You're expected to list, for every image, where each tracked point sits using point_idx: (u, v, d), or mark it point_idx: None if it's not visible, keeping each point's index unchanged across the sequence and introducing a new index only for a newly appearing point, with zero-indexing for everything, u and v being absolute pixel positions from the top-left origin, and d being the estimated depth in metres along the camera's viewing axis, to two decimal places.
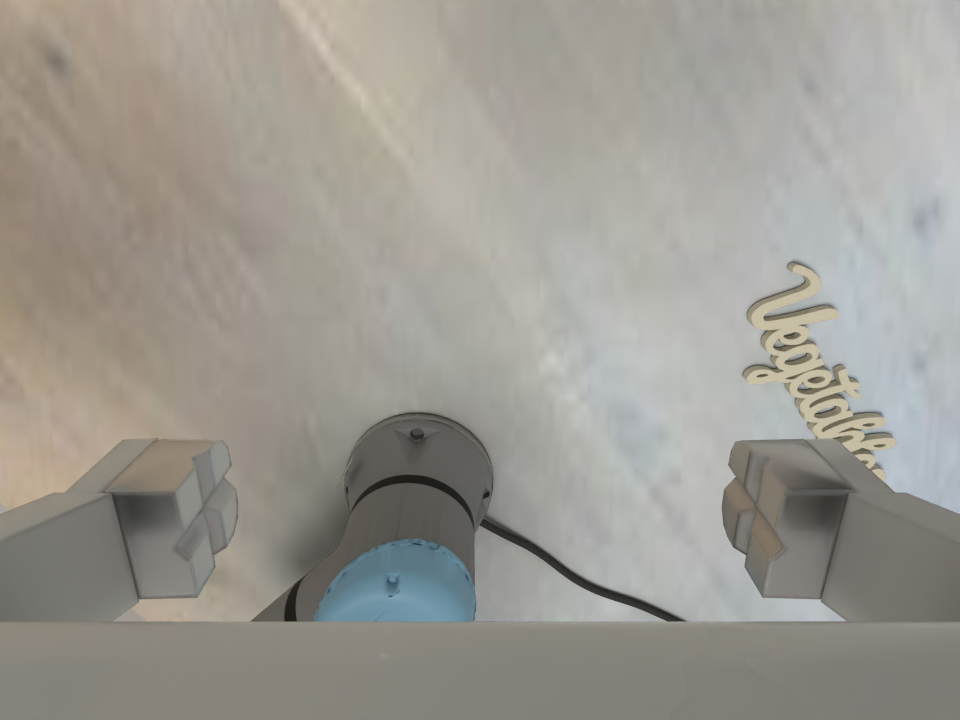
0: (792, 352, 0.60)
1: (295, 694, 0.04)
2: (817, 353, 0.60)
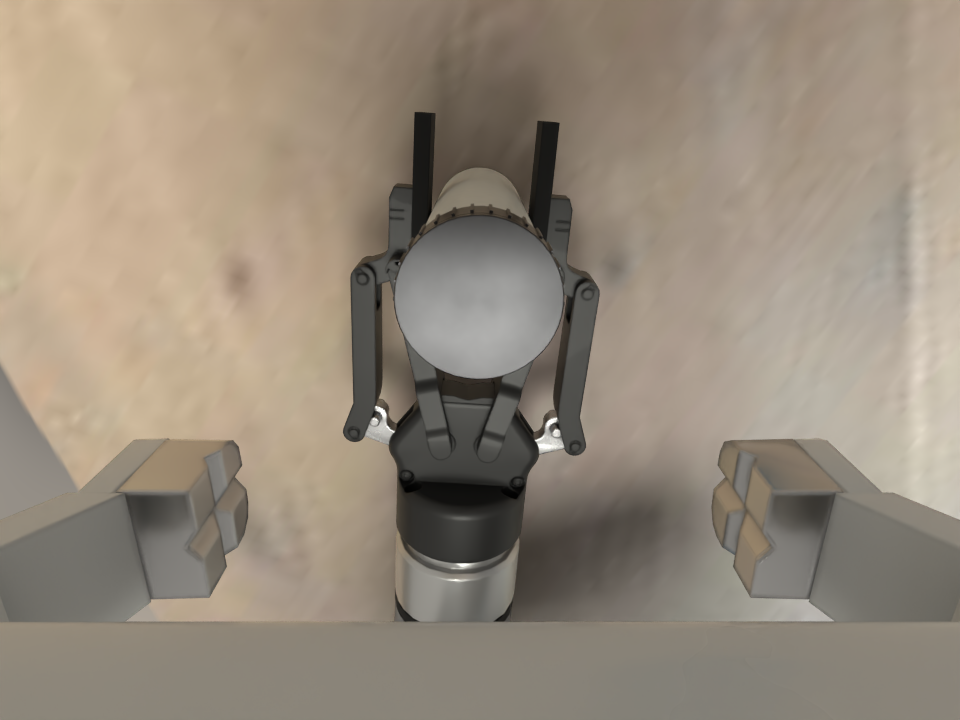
0: None
1: (295, 694, 0.04)
2: None
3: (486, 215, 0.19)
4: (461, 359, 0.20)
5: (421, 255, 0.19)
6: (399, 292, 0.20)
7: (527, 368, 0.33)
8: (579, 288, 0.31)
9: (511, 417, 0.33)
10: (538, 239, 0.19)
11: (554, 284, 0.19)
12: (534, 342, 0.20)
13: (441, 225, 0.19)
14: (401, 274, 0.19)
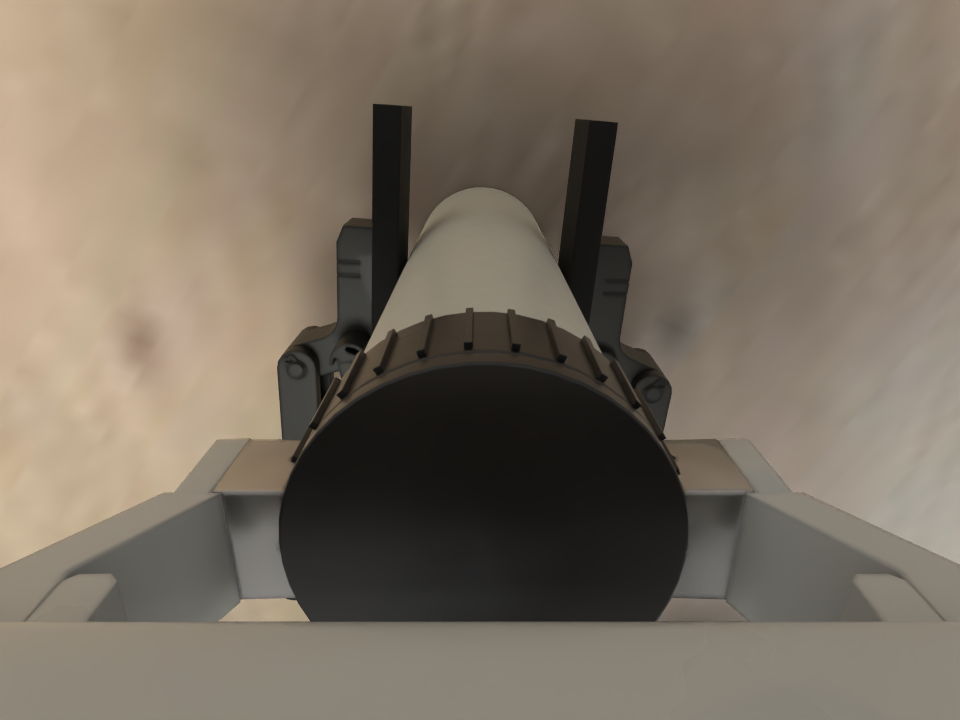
0: None
1: (295, 694, 0.04)
2: None
3: (505, 363, 0.07)
4: None
5: (341, 453, 0.08)
6: (291, 532, 0.08)
7: None
8: (640, 384, 0.20)
9: None
10: (635, 420, 0.07)
11: (667, 518, 0.08)
12: None
13: (389, 386, 0.07)
14: (293, 495, 0.08)
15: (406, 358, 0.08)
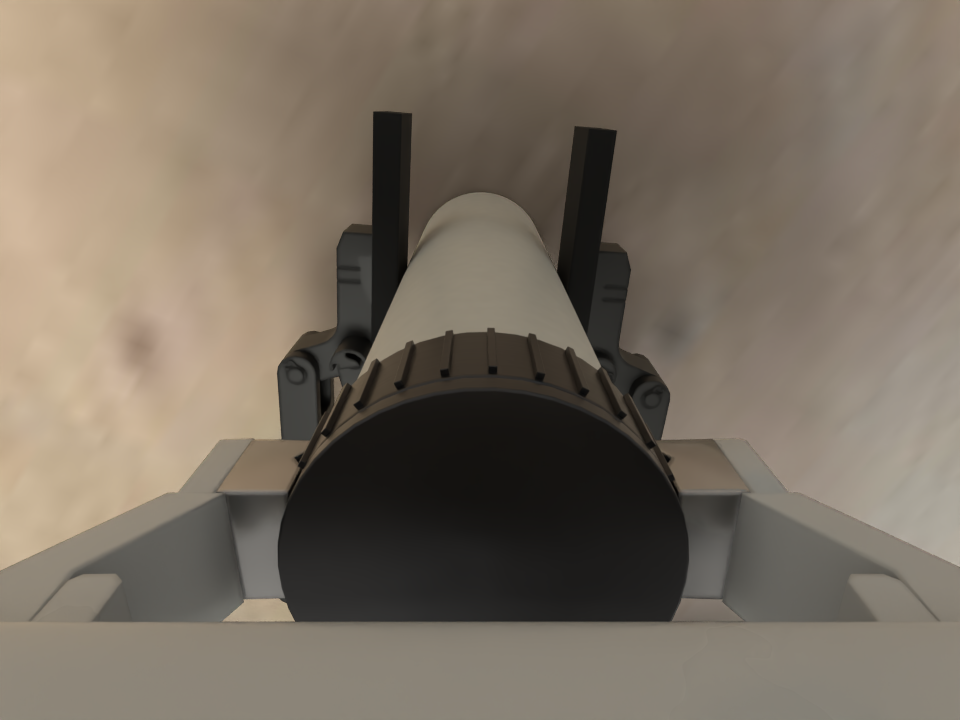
0: None
1: (295, 694, 0.04)
2: None
3: (292, 493, 0.08)
4: None
5: None
6: None
7: None
8: (639, 390, 0.20)
9: None
10: (388, 409, 0.07)
11: (517, 411, 0.07)
12: (641, 502, 0.08)
13: (284, 582, 0.08)
14: None
15: None
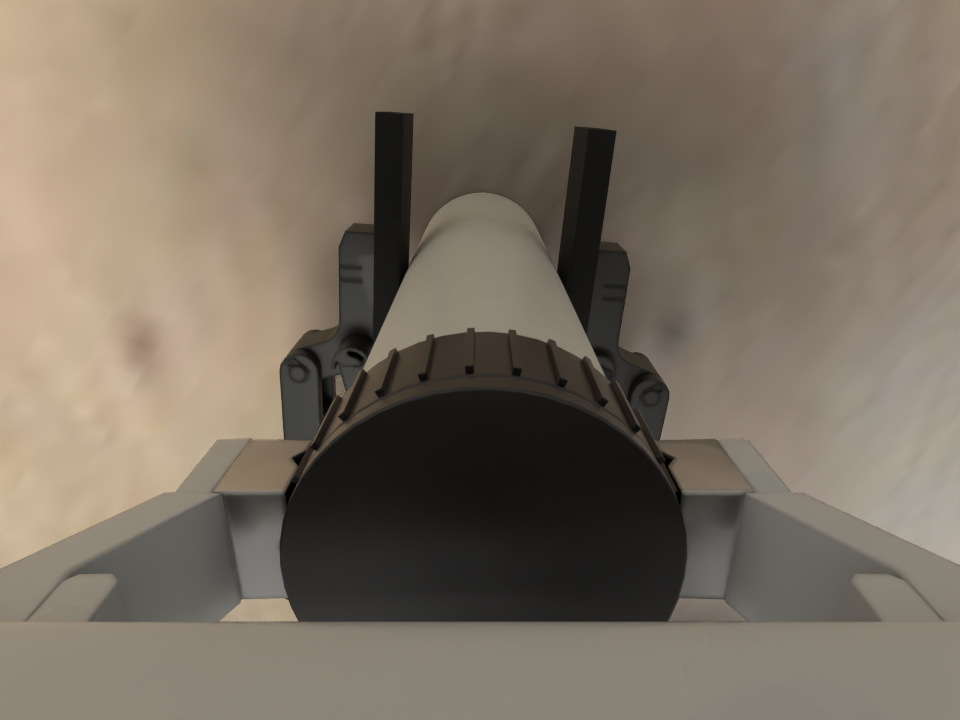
0: None
1: (295, 694, 0.04)
2: None
3: None
4: (624, 509, 0.08)
5: None
6: None
7: None
8: (638, 388, 0.20)
9: None
10: (284, 579, 0.08)
11: (318, 491, 0.08)
12: (456, 421, 0.07)
13: None
14: None
15: None
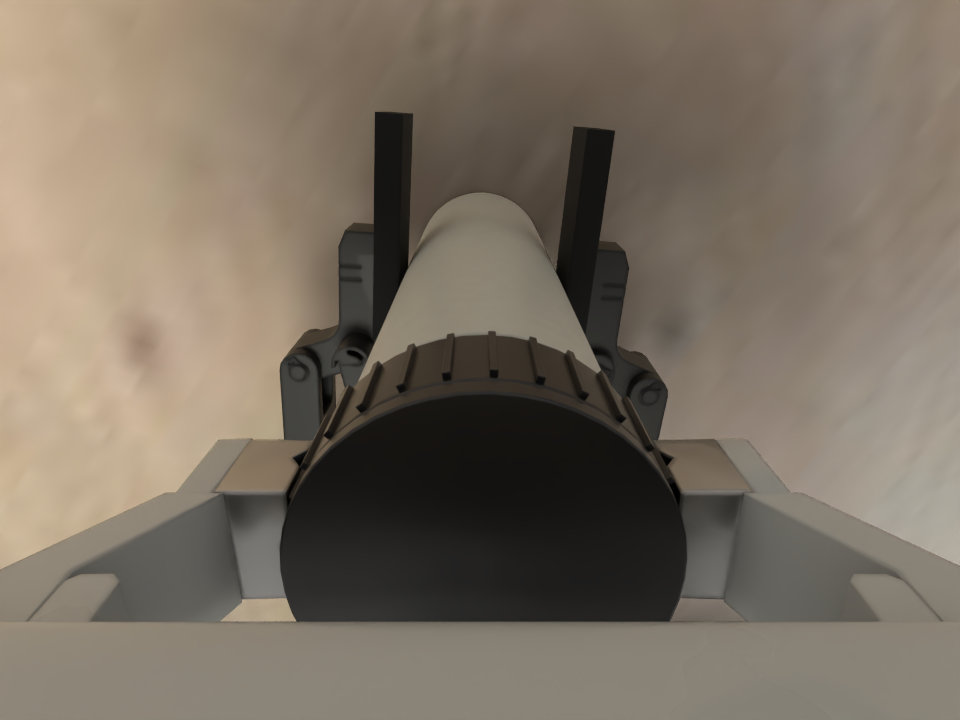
0: None
1: (295, 694, 0.04)
2: None
3: None
4: (461, 442, 0.07)
5: (644, 611, 0.09)
6: (670, 529, 0.08)
7: None
8: (636, 387, 0.20)
9: None
10: None
11: None
12: (313, 543, 0.08)
13: None
14: (678, 567, 0.08)
15: None
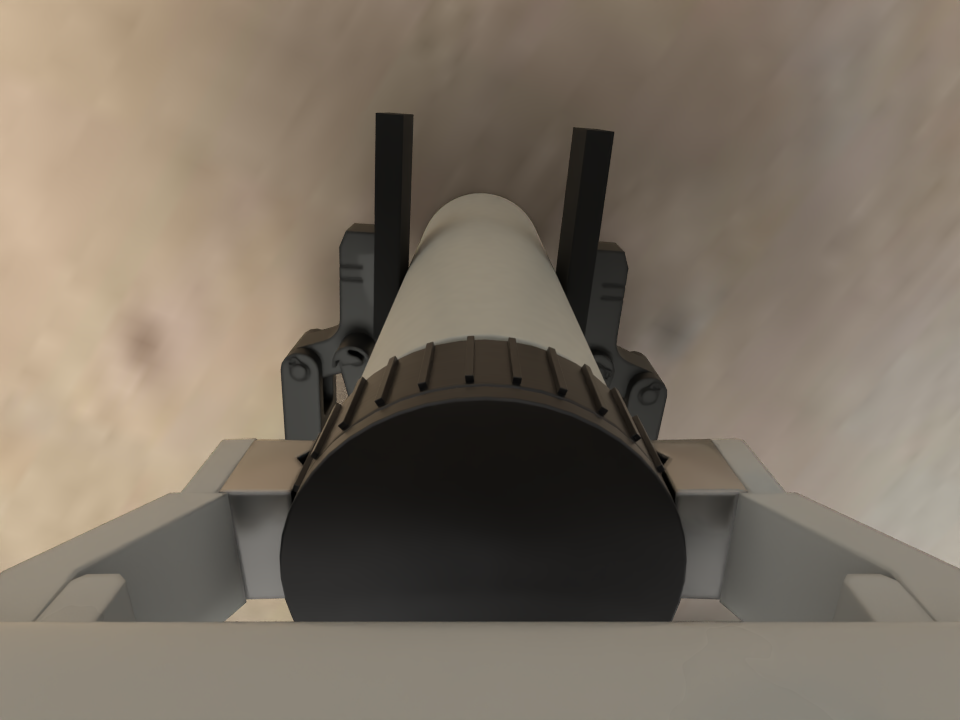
0: None
1: (295, 694, 0.04)
2: None
3: (681, 585, 0.08)
4: (329, 551, 0.08)
5: (597, 461, 0.08)
6: (500, 412, 0.07)
7: None
8: (636, 387, 0.20)
9: None
10: None
11: None
12: None
13: (668, 502, 0.08)
14: (550, 418, 0.07)
15: None
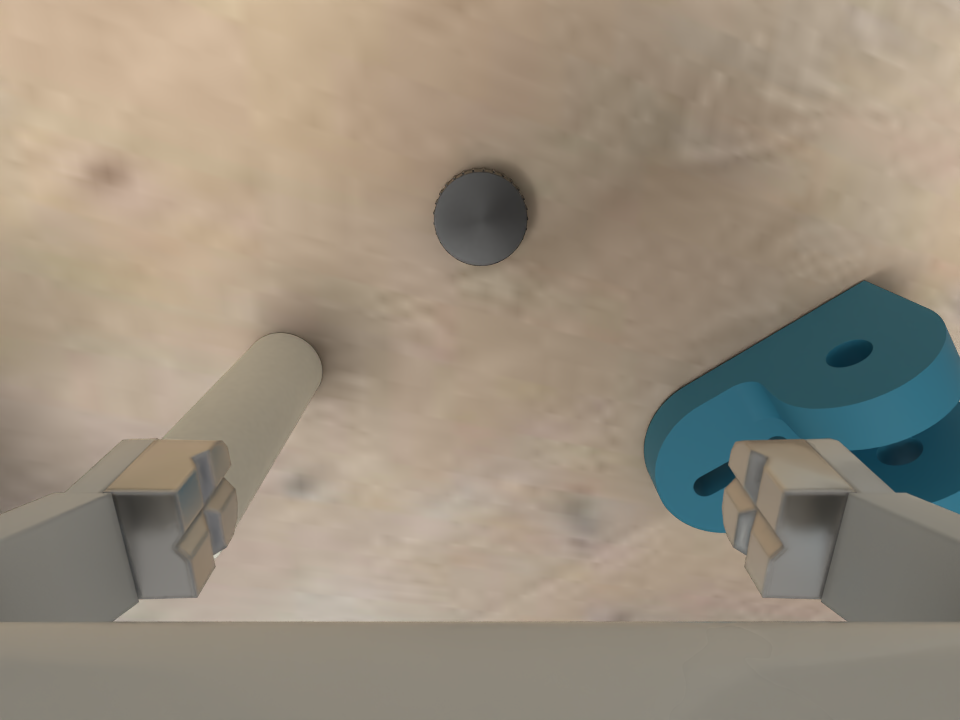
0: None
1: (295, 694, 0.04)
2: None
3: (500, 176, 0.35)
4: (459, 248, 0.37)
5: (460, 184, 0.35)
6: (441, 200, 0.36)
7: None
8: None
9: None
10: (522, 198, 0.36)
11: (522, 225, 0.36)
12: (501, 253, 0.37)
13: (476, 173, 0.35)
14: (446, 190, 0.35)
15: (479, 170, 0.36)
